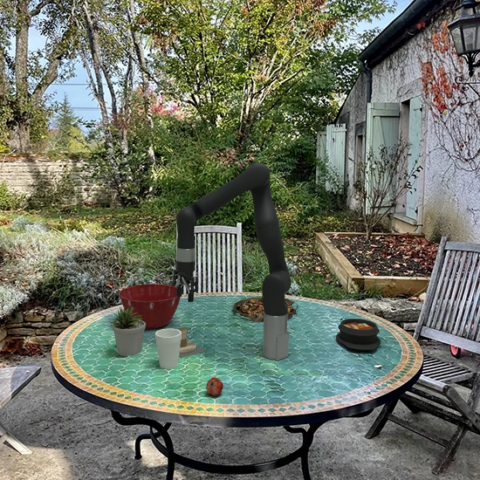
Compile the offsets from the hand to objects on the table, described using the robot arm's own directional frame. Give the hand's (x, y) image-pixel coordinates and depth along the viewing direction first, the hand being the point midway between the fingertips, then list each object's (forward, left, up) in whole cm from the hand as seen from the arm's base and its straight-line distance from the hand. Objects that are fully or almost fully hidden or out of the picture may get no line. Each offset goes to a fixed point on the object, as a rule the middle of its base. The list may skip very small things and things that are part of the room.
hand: (184, 299), depth 189 cm
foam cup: (-10, +14, -21) cm, 27 cm away
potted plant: (+11, +19, -21) cm, 30 cm away
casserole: (-40, -61, -21) cm, 76 cm away
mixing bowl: (+35, -6, -21) cm, 41 cm away
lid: (0, +1, -20) cm, 20 cm away
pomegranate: (-37, +14, -21) cm, 45 cm away
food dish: (+15, -61, -21) cm, 66 cm away
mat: (0, +1, -21) cm, 21 cm away
